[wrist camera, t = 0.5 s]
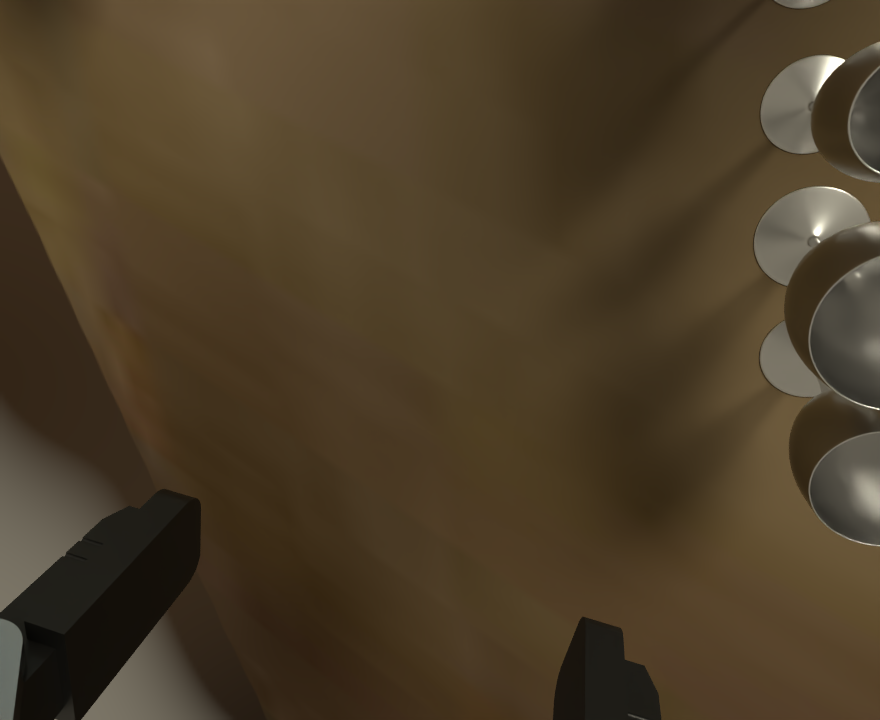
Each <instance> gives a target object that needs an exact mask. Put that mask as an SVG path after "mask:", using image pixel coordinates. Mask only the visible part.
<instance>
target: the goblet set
mask: <svg viewBox="0 0 880 720" xmlns="http://www.w3.org/2000/svg"><path fill="white" fill-rule="evenodd" d="M774 1H775V2H776V3H778V4H780V5H782V6H785V7H788V8H794V9H805V8H811V7H815V6H818V5H821V4H823V3H826V2H828V1H830V0H774ZM760 120H761V125H762V128H763V131H764V133H765V135H766V136H767V138H768V139H769V140H770V141H771V142H772V143H773V144H774V145H775V146H777V147H778V148H780V149H782V150H784V151H787V152H790V153H795V154H810V153H816V152H820V153H821V155H822V156H823V157H824V158H825V160H826V161H827V162H828V163H830V164H831V165H832V166H833V167H835V168H836V169H838V170H839V171H841V172H842V173H844V174H846V175H849V176H851V177H854V178H857V179H860V180H865V181H870V182H878V183H880V42H877V43H875V44H873V45H870V46H868V47H866V48H864V49H862V50H860V51H859V52H857V53H855V54H854V55H852V56H851V57H849V58H848V59H847V60H845V59H843V58H840V57H837V56H833V55H814V56H809V57H805V58H803V59H800V60H798V61H796V62H794V63H792V64H790V65H789V66H787V67H786V68H785V69H783V70H782V71H781V72H780V73H779V74H778V75H777V76H776V77H775V78H774V79H773V81H772V82H771V83H770V85H769V86H768V88H767V90H766V92H765V94H764V96H763V99H762V103H761V109H760ZM754 253H755V257H756V259H757V262H758V264H759V266H760V267H761V269H762V270H763V271H764V272H765V273H766V274H767V275H768V276H769V277H770V278H771V279H773V280H774V281H776V282H778V283H780V284H782V285H785V286H788V287H787V290H786V295H785V303H784V315H785V320H783V321H782V322H780V323H779V324H777V325H776V326H775V327H774V328H773V329H772V330H771V331H770V332H769V333H768V334H767V336H766V337H765V339H764V341H763V343H762V345H761V349H760V354H759V361H760V366H761V369H762V372H763V374H764V376H765V377H766V379H767V380H768V381H769V382H770V383H771V384H772V385H773V386H774V387H776V388H777V389H779V390H780V391H782V392H785V393H787V394H790V395H794V396H799V397H814V398H812V399H811V400H810V401H809V402H808V403H807V404H806V405H805V406H804V407H803V408H802V409H801V411H800V412H799V414H798V415H797V417H796V419H795V421H794V423H793V426H792V429H791V433H790V439H789V459H790V465H791V469H792V473H793V476H794V478H795V481H796V483H797V486H798V487H799V489H800V491H801V493H802V495H803V496H804V498H805V500H806V501H807V503H808V504H809V506H810V507H811V508H812V510H813V511H814V513H815V514H816V515H817V517H818V518H819V519H820V520H821V521H822V522H823V523H824V524H825V525H826V526H827V527H828V528H829V529H831V530H832V531H834V532H835V533H837V534H838V535H840V536H842V537H844V538H846V539H849V540H851V541H854V542H858V543H861V544H866V545H872V546H880V221H876V222H871V221H870V218H869V215H868V212H867V210H866V209H865V207H864V206H863V204H862V203H861V202H860V201H859V200H858V199H857V198H856V197H854V196H853V195H852V194H850V193H848V192H846V191H844V190H842V189H839V188H835V187H830V186H811V187H805V188H802V189H798V190H795V191H793V192H791V193H789V194H787V195H785V196H783V197H782V198H780V199H779V200H777V201H776V202H775V203H774V204H773V205H772V206H771V207H770V208H769V209H768V210H767V211H766V212H765V213H764V215H763V216H762V218H761V220H760V221H759V223H758V226H757V228H756V231H755V235H754Z"/></svg>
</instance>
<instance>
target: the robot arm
mask: <svg viewBox="0 0 880 720" xmlns="http://www.w3.org/2000/svg"><path fill="white" fill-rule="evenodd" d="M200 531H201V504H200V501H199V500H198V499H196V498H193V497H190V496H186V495H183V494H180V493H177V492H173V491H170V490H167V489H162V490H160V491H158V492H157V493H156V494H154V496H152V497H151V499H150V500H148V501H147V502H146V503H145V504H144V505H143V506H142V507H141V508H140V509H138V508H134V507H131V506H128V507H126V508H124V509H122V510H120V511H118V512H116V513H114V514H112V515H110V516H108V517H106V518H104V519H102V520H101V521H100V522H99V523H98V524H97V525H96V526H95V527H94V528H92V529H91V530H90V531H89V532H88V533H87V534H86V535H85V536H84V537H83V539H82V541H78V542H77V543H76V544H75V545H74V546H73V547H72V548H71V549H70V550H69V551H67V552H66V555H65V556H64V557H63V556H62V557H61V558H60V559H59V560H57V562H55V563H54V564H53V565H52V566H51V567H50V568H49V569H48V570H47V571H45V572H44V573H43V574H42V575H41V576H40V577H39V578H38V579H37V580H36V581H34V583H32V584H31V585H30V586H29V587H28V588H27V589H26V590H25V591H24V592H22V593H21V594H20V595H19V596H18V597H17V598H16V599H15V600H14V601H13V602H12V603H10V604H9V605H8V606H7V607H6V608H5V609H4V610H3V611H2V612H0V720H54V719H57V720H81V719H82V718H83V717H84V715H85V714H86V713H87V711H88V710H89V709H90V708H91V706H92V705H93V704H94V703H95V701H96V700H97V699H98V697H99V696H100V695H101V694H102V692H103V691H104V690H105V689H106V687H107V686H108V685H109V683H110V682H111V681H112V680H113V678H114V677H115V676H116V675H117V673H118V672H119V671H120V669H121V668H122V667H123V666H124V664H125V663H126V661H128V659H129V658H130V657H131V656H132V654H133V653H134V652H135V650H136V649H137V648H138V647H139V645H140V644H141V643H142V642H143V640H144V639H145V638H146V636H147V635H148V634H149V633H150V631H151V630H152V629H153V627H154V626H155V625H156V624H157V622H158V621H159V620H160V619H161V617H162V616H163V615H164V614H165V612H166V611H167V610H168V608H169V607H170V606H171V605H172V603H173V602H174V601H175V600H176V598H177V597H178V596H179V595H180V593H181V592H182V591H183V589H184V588H185V587H186V586H187V584H188V583H189V582H190V580H191V578H192V576H193V574H194V572H195V570H196V568H197V565H198V562H199V558H200ZM553 720H661V713H660V704H659V695H658V692H657V690H656V688H655V686H654V684H653V682H652V680H651V678H650V676H649V674H648V672H647V670H646V668H645V666H643V665H640V664H637V663H634V662H630V661H627V660H625V659H624V642H623V632H622V629H621V628H619V627H615V626H612V625H609V624H606V623H602V622H599V621H596V620H592V619H589V618H586V617H582V618H581V619H580V621H579V623H578V626H577V628H576V631H575V633H574V636H573V638H572V641H571V643H570V646H569V648H568V651H567V653H566V656H565V659H564V661H563V664H562V666H561V669H560V672H559V676H558V680H557V685H556V690H555V698H554V712H553Z"/></svg>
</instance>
